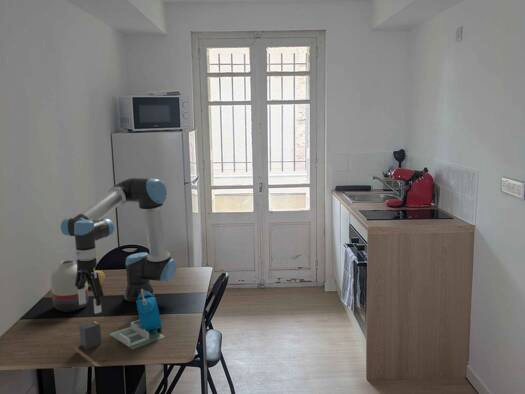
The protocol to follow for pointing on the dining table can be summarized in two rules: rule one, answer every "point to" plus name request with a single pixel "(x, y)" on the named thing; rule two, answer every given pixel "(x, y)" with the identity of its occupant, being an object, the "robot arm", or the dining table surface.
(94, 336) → the plug
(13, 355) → the dining table surface
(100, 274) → the potato
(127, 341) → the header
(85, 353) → the dining table surface
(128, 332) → the board
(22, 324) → the dining table surface
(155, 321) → the blue suitcase
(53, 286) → the vase
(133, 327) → the header 2pin
